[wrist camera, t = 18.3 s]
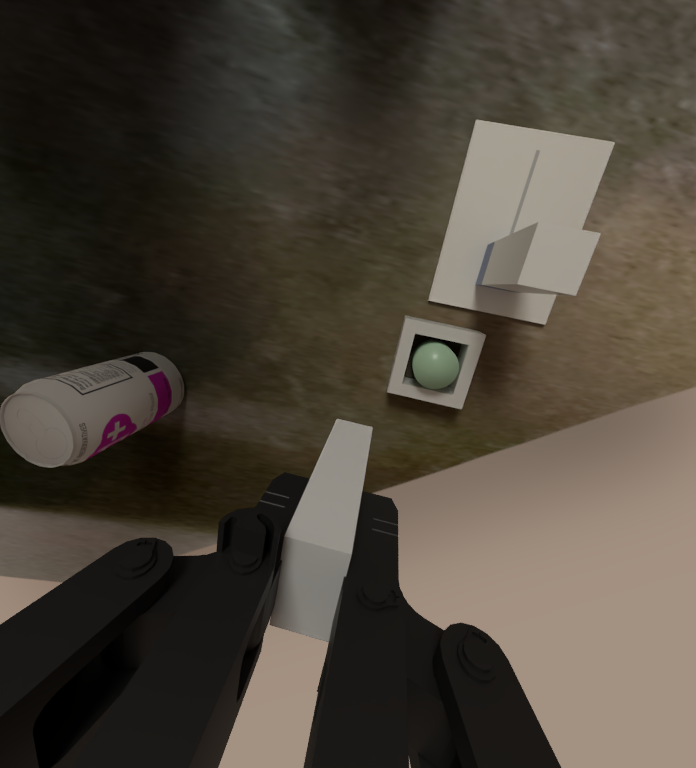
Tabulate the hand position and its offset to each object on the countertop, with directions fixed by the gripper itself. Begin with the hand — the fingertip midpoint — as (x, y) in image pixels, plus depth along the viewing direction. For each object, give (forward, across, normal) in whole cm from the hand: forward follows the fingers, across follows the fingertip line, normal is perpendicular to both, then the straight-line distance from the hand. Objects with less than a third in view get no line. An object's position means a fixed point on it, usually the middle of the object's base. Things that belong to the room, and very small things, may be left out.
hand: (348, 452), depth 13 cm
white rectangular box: (+24, +10, +10) cm, 28 cm away
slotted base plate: (+24, +10, +14) cm, 30 cm away
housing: (+24, +6, 0) cm, 25 cm away
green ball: (+24, +6, 0) cm, 25 cm away
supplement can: (+25, -27, -11) cm, 38 cm away
